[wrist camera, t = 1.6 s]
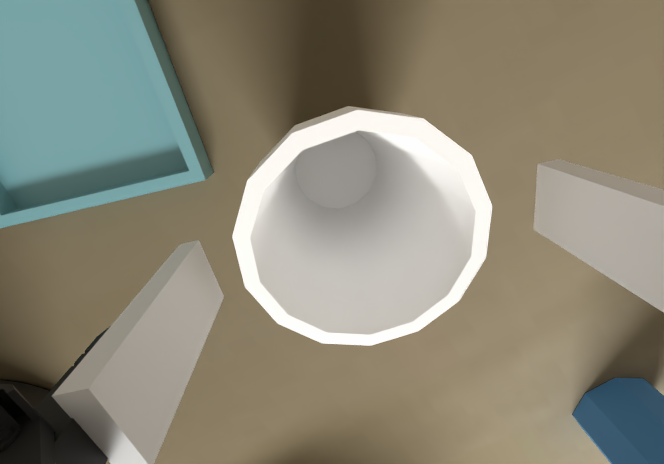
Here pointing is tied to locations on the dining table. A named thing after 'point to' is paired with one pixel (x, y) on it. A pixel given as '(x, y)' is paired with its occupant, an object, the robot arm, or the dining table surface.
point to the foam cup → (362, 226)
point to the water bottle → (624, 421)
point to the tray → (88, 108)
